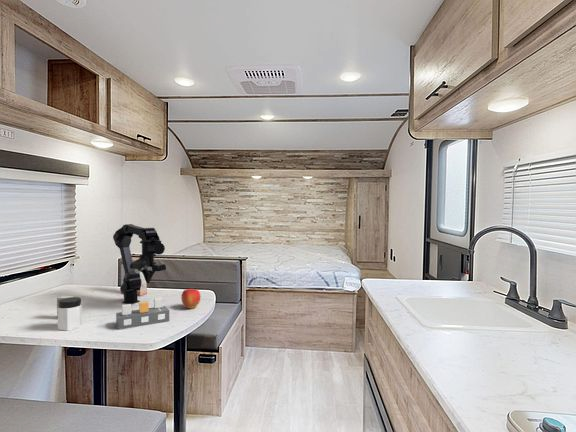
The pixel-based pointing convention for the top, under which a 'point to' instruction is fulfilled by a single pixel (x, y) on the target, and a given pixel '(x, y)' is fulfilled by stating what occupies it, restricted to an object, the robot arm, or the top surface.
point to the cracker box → (144, 285)
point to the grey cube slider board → (142, 317)
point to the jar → (69, 313)
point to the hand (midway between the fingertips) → (147, 283)
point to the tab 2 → (143, 307)
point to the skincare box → (60, 299)
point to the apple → (190, 298)
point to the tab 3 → (158, 302)
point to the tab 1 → (126, 309)
